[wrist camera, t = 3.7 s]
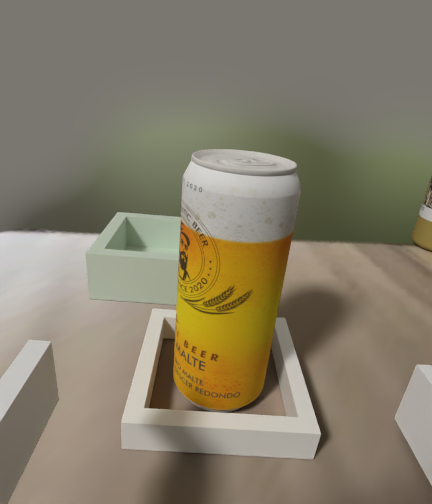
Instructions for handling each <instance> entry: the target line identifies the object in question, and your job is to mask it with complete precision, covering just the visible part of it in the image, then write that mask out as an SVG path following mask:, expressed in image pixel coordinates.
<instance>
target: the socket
mask: <svg viewBox="0 0 432 504" xmlns="http://www.w3.org/2000/svg"><path fill="white" fill-rule="evenodd" d="M180 225H181V217H172V216H159V215H147V214H135V213H122V212H118V213H117V214H116V215H115V216H114V218H113V219H112V220H111V222H110V223H109V224H108V225H107V227H106V228H105V230H104V231H103V232H102V233H101V234H100V236H99V237H98V238H97V240H96V241H95V242H94V243H93V245H92V246H91V247H90V249H89V250H88V251H87V252H86V264H87V278H88V292H89V299H99V300H113V301H127V302H141V303H155V304H169V305H177V286H178V266H179V246H180Z"/></svg>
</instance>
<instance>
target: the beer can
mask: <svg viewBox="0 0 432 504" xmlns="http://www.w3.org/2000/svg"><path fill="white" fill-rule="evenodd" d="M296 169H297V164H296V163H294V162H293V161H291V160H288V159H286V158H283V157H279V156H275V155H270V154H265V153H259V152H252V151H243V150H228V149H210V150H201V151H197V152H194V153H193V154H192V160H191V162H190V164H189V166H188V168H187V169H186V171H185V173H184V175H183V184H182V206H181V225H180V246H179V266H178V286H177V307H176V327H175V347H174V368H173V377H174V381H175V384H176V386H177V388H178V389H179V391H180V392H181V393H182V394H183V395H184V396H185V397H186V398H187V399H188V400H189V401H190V402H192V403H193V404H194V405H196V406H197V407H199V408H201V409H204V410H207V411H211V412H219V413H224V412H231V411H235V410H238V409H240V408H242V407H243V406H246V405H248V404H249V403H251V402H252V401H254V400H255V399H256V398H257V397H258V396H259V394H260V393H261V391H262V389H263V386H264V381H265V376H266V371H267V365H268V360H269V355H270V350H271V344H272V339H273V334H274V329H275V323H276V318H277V313H278V308H279V302H280V297H281V292H282V287H283V281H284V276H285V271H286V266H287V260H288V255H289V250H290V245H291V239H292V234H293V229H294V224H295V218H296V213H297V208H298V202H299V197H300V192H301V187H300V183H299V179H298V176H297V172H296Z"/></svg>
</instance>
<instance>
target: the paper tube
mask: <svg viewBox="0 0 432 504" xmlns="http://www.w3.org/2000/svg"><path fill="white" fill-rule="evenodd" d="M411 238H412V240H413V242H414V243H415V244H416V245H418V246H419V247H421V248H424V249H426V250H429V251H432V177H431V180H430V182H429V185H428V188H427V191H426V195H425V197H424V200H423V203H422V206H421V209H420V212H419V216H418V219H417V221H416V224H415V227H414V230H413V233H412V237H411Z"/></svg>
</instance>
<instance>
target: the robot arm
mask: <svg viewBox="0 0 432 504" xmlns="http://www.w3.org/2000/svg"><path fill="white" fill-rule="evenodd" d="M58 400H59V396H58V389H57V381H56V374H55V366H54V358H53V351H52V343H51V341H37V340H29V341H28V342H27V343H26V345H25V346H24V347H23V349H22V350H21V352H20V353H19V354H18V356H17V357H16V358H15V360H14V361H13V363H12V364H11V365H10V367H9V368H8V369H7V371H6V372H5V374H4V375H3V376H2V378H1V379H0V504H8V502H9V500H10V498H11V496H12V493H13V491H14V489H15V487H16V485H17V483H18V481H19V479H20V477H21V475H22V473H23V471H24V469H25V467H26V465H27V463H28V461H29V459H30V457H31V455H32V453H33V451H34V449H35V447H36V445H37V443H38V441H39V439H40V437H41V435H42V433H43V431H44V429H45V427H46V424H47V422H48V420H49V418H50V416H51V414H52V412H53V410H54V408H55V406H56V404H57V402H58ZM395 420H396V422H397V424H398V426H399V427H400V429H401V431H402V433H403V435H404V437H405V438H406V440H407V442H408V444H409V446H410V447H411V449H412V451H413V453H414V455H415V457H416V458H417V460H418V462H419V464H420V466H421V467H422V469H423V471H424V473H425V475H426V477H427V478H428V480H429V482H430V484H431V486H432V365H416V367H415V370H414V372H413V375H412V377H411V379H410V382H409V384H408V387H407V389H406V391H405V394H404V396H403V399H402V401H401V404H400V406H399V408H398V411H397V413H396V416H395Z"/></svg>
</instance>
